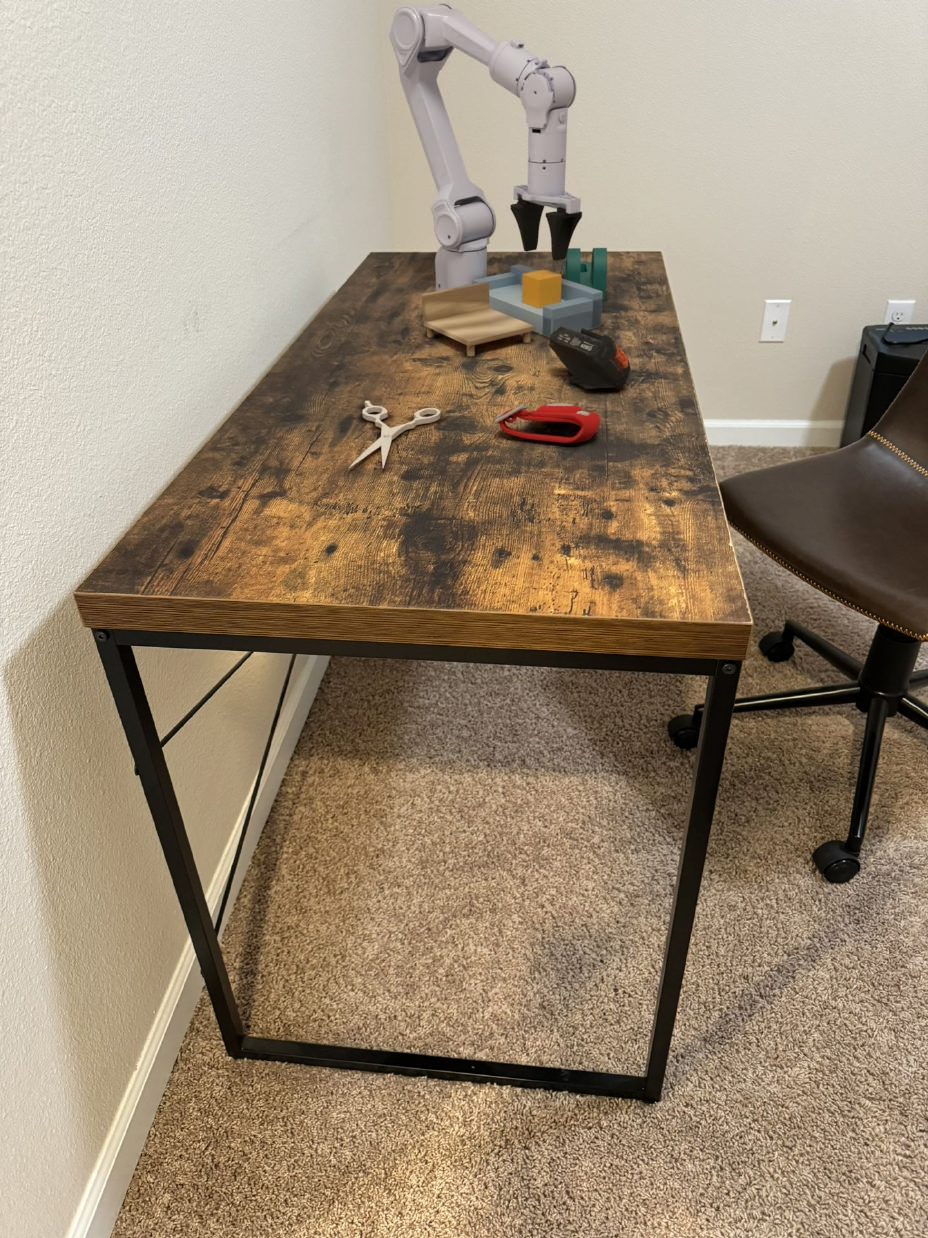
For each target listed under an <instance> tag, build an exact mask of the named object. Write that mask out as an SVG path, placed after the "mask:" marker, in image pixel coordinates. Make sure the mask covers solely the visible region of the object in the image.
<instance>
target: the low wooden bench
mask: <svg viewBox="0 0 928 1238" xmlns="http://www.w3.org/2000/svg"><path fill="white" fill-rule="evenodd" d="M421 303H422V320H423V323H422V324H423V326H424V327H425V328H426V338H428V339H429V338H434V337H435V336H436V335H435V332H437V333H439V334H441V335H443V336H446V337H448V338H450V339H452V340H455V341H457V342H459V343H461V344H463V345H465V346H466V357H468V358H469V357H470V358H472V357H475V356H476V352H475V351H476V345H481V344H485V343H490V342H493V341H497V340H502V339H505V338H506V339H507V338H510V337H514V336H518V335H522V342H523V343H524V344H528V343H531V341H532V332H534V326H533V325H531V324H528V323H526V322H523V321H521V320H518V319H516V318H513V317H511V316H508V315H506V314H503V313H501V312H498V311H496V310H493V309H491V308H489V282H486V281H484V282H479V283H475V284H470V285H465V286H460V287H455V288H450V289H445V290H440V291H436V290H435V291H430V292H427V293H422V294H421Z"/></svg>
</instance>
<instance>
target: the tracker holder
mask: <svg viewBox="0 0 928 1238" xmlns="http://www.w3.org/2000/svg"><path fill="white" fill-rule="evenodd" d="M517 418H518V419H521V420H522V421H529V422H546V423H547V422H549V423H550V422H551V423H570V424H575V425H577V426H579V427H580V430H579V431H578V432H577V434H576V435H574V436H573V437H569V436H560V435H551V434H541V433H532V432H524V431H519V430H516V429H513V428H511V427H509V426H508V425H507V424H506V423H508V424H513V423H514V422H516V421H517V420H518V419H517ZM494 423H495V424H498V426H499V427H500V429H501V430H502V431H503V432H505V433H506V434H508V435H511V436H514V437H516V438H517V437H518V438H521V439H526V440H534V441H542V442H550V443H560V444H577V443H584V442H586V441H588V440H590V439H591V438H592V437H593V436H594V435H595V434H596V433H597V431H598V429H599V427H600V423H601V418H600V415H599V413H597V412H593V411H585V410H583V408H582V407H580V406H578V405H576V404H570V403H564V402H563V403H562V402H560V403H559V402H558V403H556V402H555V403H548V404H543V405H540V406H538V407H537V408H536V409H535V410H528V406H527V405H519V406H517V407H515V408H511V409H510V408H508V409H506V410H504V411H502V412H500V413H499V414H498V415H496V416H495V419H494Z"/></svg>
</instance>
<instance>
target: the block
mask: <svg viewBox="0 0 928 1238" xmlns="http://www.w3.org/2000/svg"><path fill="white" fill-rule="evenodd" d="M562 278H563V274H560V273H557V272H555V271H551V270H548V269H540V270H538V271H534V272H530V273H525V274H522V303H525V304H528V305H530V306H533V307H536V308H538V309H540V308H543V306H546V305H550V304H555V303H559V302H561V282H562Z"/></svg>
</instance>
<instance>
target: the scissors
mask: <svg viewBox="0 0 928 1238" xmlns="http://www.w3.org/2000/svg"><path fill="white" fill-rule="evenodd" d="M371 413H372V414H371ZM373 413H377V414H373ZM361 415H362V418H363V419H364V420H366V421H369V422H373V423H375V427H377V428H380V429H381V431H380V437H379V438H378V439H377V440H375V441H374V442H373V443H372V444H371V445H369V447H368V448H366V450H364V451H363V452H362V453H361V454H360V455H359V456H358V457H357V458H356V459H355V460H354V461H353V462H352V463H351V464H350V465H349V467H348V469H350V468H351V467H353V466H354V465H356V464H357V463H358V462H360V461H361V460H363V459H365V458H366V457H367V456H369V455H370V454H371V453H373V452H374V451H376V450H377V449H379V448H381V449H380V450H381V462H382V463H381V464H382V469H384V468H385V464H386V462H387V459H388V456H389V453H390V450H391V446H392V441H393V440H394V439H396V438H397V437H398V436H399V435H400V434H402V433H404V432H405V431H407V430H410V429H414V428H415V427H417V426H418V425H424V424H431V423H434V422H437V421H438V420H440V418H441V410H440V409H439V408H437V407H426V408H422V409H419V410H417V411H415V412H414V413H413V420H411V421H409V422H406V423H403V424H399V425H396V426H393V427H390V426H388V425H387V424H386V423H384V422H383V421H382V420H383V419H386V418H388V416H389V415H388V410H387V408H385V407H384V406H381V405H373V404H372V403H371V400H365V401H364V408H363V409H362V412H361ZM427 415H430V416H427Z"/></svg>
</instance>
